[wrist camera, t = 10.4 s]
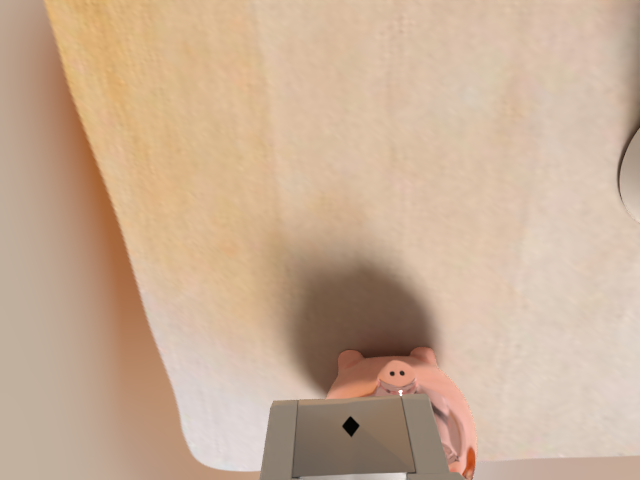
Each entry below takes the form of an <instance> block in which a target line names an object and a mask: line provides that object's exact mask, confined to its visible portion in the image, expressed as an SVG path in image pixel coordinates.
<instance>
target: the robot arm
mask: <svg viewBox="0 0 640 480" xmlns="http://www.w3.org/2000/svg"><path fill="white" fill-rule="evenodd" d="M620 193H621V198H622V201H623V203H624V205H625V207H626V209H627V211H628V212H629V214H630V215H631V216H632V217H633V218H634V219H635V220H636V221H637V222H638V223H640V128H639V129H638V131H637V132H636V134H635V135H634V137H633V139H632V141H631V142H630V144H629V146H628V149H627V151H626V153H625V156H624V159H623V162H622V166H621V171H620ZM260 480H466V479H465V478H464V477H463V476H462V475H461V474H460V473H459V472H450V470H449V467H448V463H447V459H446V456H445V452H444V449H443V445H442V442H441V438H440V434H439V431H438V427H437V424H436V420H435V416H434V413H433V409H432V406H431V402H430V398H429V397H428V395H427V394H426V393H425V394H407V395H400V396H399V395H387V396H370V397H354V398H347V399H304V400H281V401H273V403H272V405H271V408H270V414H269V421H268V427H267V434H266V441H265V447H264V454H263V461H262V467H261V474H260Z"/></svg>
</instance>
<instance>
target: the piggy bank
mask: <svg viewBox="0 0 640 480" xmlns="http://www.w3.org/2000/svg"><path fill="white" fill-rule="evenodd" d="M425 393H426V394H427V395H428V397H429V398H430V402H431V406H432V409H433V413H434V416H435V420H436V424H437V427H438V431H439V434H440V438H441V442H442V445H443V449H444V452H445V456H446V459H447V463H448V467H449V470H450V472H459V473H460V474H461V475H462V476H463V477H464V478H465V479H466V480H472V479H473V475H474V471H475V466H476V459H477V435H476V428H475V423H474V419H473V416H472V413H471V410H470V407H469V405H468V403H467V401H466V399H465V397H464V395H463V394H462V392H461V391H460V390H459V388H458V387H457V386H456V384H455V383H454V382H453V381H452V380H451V379H450V378H449V377H448V376H447V375H446V374H445V373H444V372H443V371H442V370H440V369H439V368H438V367H437V363H436V358H435V354H434V352H433V350H432V349H430V348H428V347H418V348H415V349H413V350H412V351H411V353H410V355H409V356H382V357H371V358H364V357H363V356H362V354H361V353H360V352H358V351H356V350H346V351H343V352H342V353H341V354H340V355H339V357H338V376H337V378H336V380H335V381H334V383H333V385H332V386H331V388H330V390H329V392H328V394H327V396H326V398H325V399H347V398H354V397H370V396H387V395H399V396H400V395H407V394H425Z"/></svg>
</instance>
